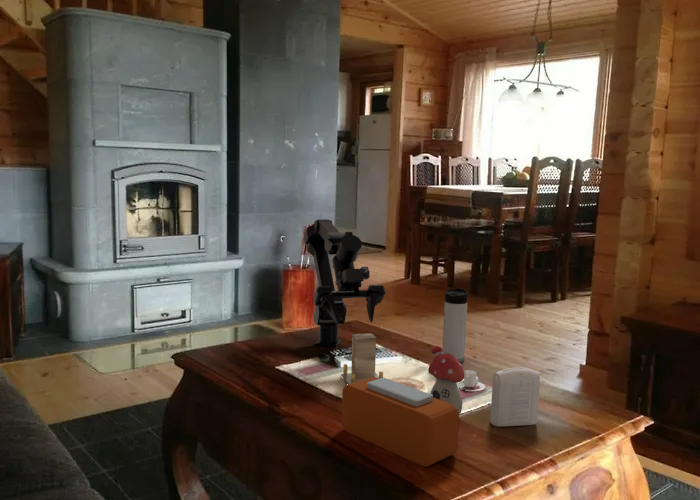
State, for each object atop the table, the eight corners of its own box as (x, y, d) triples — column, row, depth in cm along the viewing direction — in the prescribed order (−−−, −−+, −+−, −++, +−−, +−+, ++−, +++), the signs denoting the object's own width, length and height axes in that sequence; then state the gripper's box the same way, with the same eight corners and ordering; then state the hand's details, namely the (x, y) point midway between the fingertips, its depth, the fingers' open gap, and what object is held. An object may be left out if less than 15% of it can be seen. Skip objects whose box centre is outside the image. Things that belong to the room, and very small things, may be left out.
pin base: (340, 376, 171) (341, 364, 170) (374, 374, 173) (374, 361, 173) (350, 388, 162) (350, 375, 162) (385, 386, 165) (385, 373, 164)
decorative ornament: (421, 408, 150) (424, 344, 148) (447, 405, 153) (450, 342, 151) (441, 424, 142) (444, 356, 140) (468, 421, 144) (471, 354, 142)
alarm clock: (458, 457, 127) (461, 400, 125) (430, 470, 121) (432, 411, 120) (368, 419, 144) (370, 369, 142) (340, 429, 138) (341, 377, 137)
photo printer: (530, 417, 147) (533, 363, 145) (539, 425, 143) (543, 370, 141) (487, 421, 144) (490, 366, 143) (495, 429, 140) (499, 372, 139)
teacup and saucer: (467, 379, 172) (468, 364, 172) (493, 387, 167) (494, 371, 166) (446, 386, 166) (447, 371, 166) (472, 395, 161) (473, 379, 160)
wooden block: (350, 376, 169) (351, 334, 167) (370, 375, 170) (371, 333, 169) (355, 381, 165) (356, 338, 163) (375, 380, 166) (376, 337, 165)
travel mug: (468, 358, 189) (471, 289, 186) (459, 364, 184) (462, 293, 181) (448, 354, 192) (451, 286, 190) (438, 360, 187) (441, 290, 184)
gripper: (317, 256, 174) (326, 307, 165) (384, 255, 179) (396, 305, 170) (310, 279, 182) (318, 329, 174) (374, 278, 187) (385, 326, 179)
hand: (354, 322), depth 174 cm, fingers open, 9 cm apart
